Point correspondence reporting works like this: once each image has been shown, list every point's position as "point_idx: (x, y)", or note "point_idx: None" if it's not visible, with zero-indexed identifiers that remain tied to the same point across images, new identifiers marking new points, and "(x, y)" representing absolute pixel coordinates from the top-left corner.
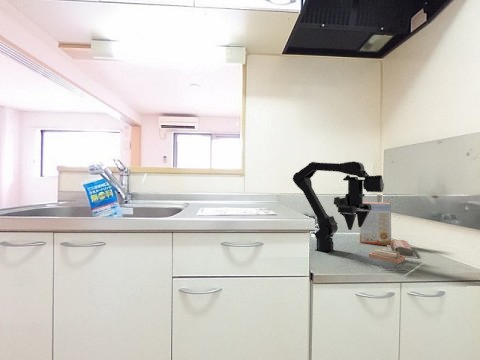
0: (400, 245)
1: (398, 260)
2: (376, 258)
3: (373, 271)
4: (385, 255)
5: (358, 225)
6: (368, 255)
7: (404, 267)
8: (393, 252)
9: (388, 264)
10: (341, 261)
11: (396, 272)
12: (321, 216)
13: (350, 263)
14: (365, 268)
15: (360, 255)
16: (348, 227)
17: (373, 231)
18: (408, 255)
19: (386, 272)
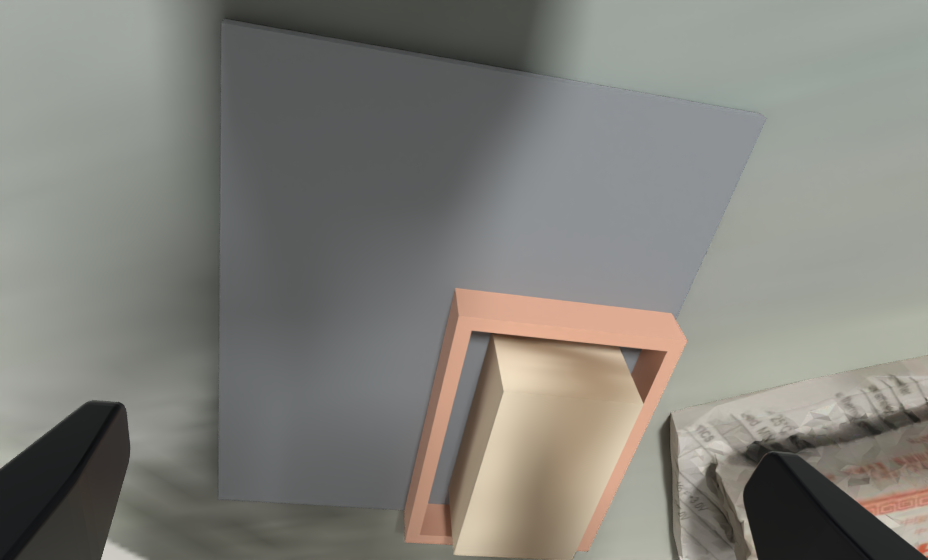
0: None
1: (410, 536)
2: (438, 366)
3: (3, 415)
4: (470, 460)
5: (791, 481)
6: (551, 264)
7: (360, 538)
8: (524, 532)
9: (314, 468)
10: (24, 45)
11: (160, 527)
12: None
13: (51, 175)
14: (24, 346)
15: (488, 190)
16: (39, 460)
17: None
18: (729, 526)
19: None
